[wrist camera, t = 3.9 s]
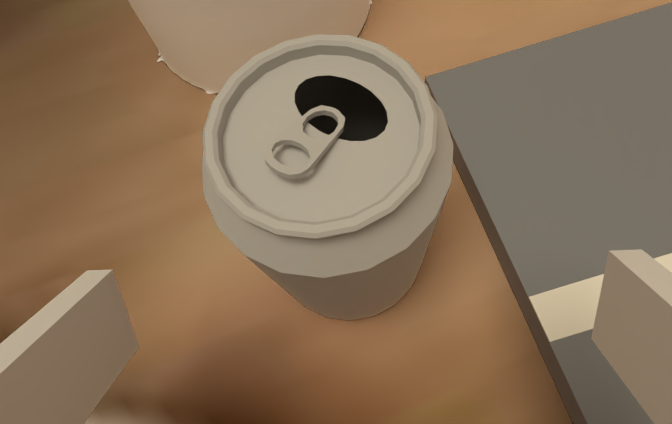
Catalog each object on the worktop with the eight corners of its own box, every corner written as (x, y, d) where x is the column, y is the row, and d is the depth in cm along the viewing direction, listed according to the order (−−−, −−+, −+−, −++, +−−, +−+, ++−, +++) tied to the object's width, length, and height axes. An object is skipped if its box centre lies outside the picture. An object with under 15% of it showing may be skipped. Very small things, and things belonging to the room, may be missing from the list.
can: (449, 230, 21) (520, 76, 10) (369, 354, 20) (352, 329, 9) (333, 162, 24) (289, -24, 13) (252, 268, 22) (116, 159, 11)
